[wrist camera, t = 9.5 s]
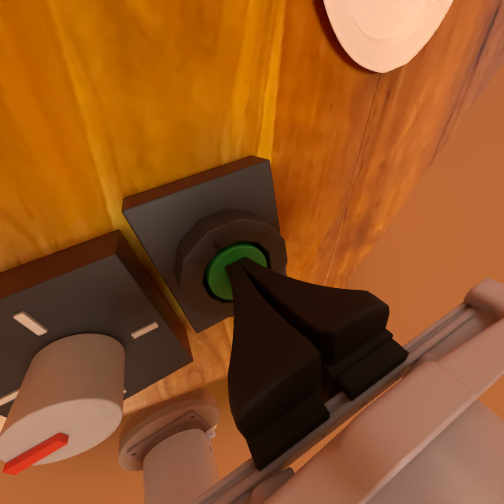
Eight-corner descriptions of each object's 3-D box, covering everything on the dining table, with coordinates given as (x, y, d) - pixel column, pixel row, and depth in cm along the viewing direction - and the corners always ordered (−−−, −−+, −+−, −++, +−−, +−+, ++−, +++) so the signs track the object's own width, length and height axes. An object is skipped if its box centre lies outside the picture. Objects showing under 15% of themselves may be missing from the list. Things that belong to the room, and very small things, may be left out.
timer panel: (185, 330, 18) (194, 363, 15) (68, 391, 16) (56, 440, 13) (119, 229, 12) (115, 255, 10) (-82, 302, 10) (-154, 361, 7)
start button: (258, 268, 15) (271, 283, 14) (211, 291, 14) (220, 309, 13) (248, 225, 13) (261, 236, 12) (192, 248, 12) (199, 264, 11)
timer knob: (97, 320, 11) (83, 393, 8) (138, 359, 13) (139, 426, 10) (6, 363, 10) (-49, 464, 7) (68, 396, 12) (47, 483, 9)
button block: (274, 271, 19) (301, 299, 16) (190, 313, 17) (203, 355, 14) (252, 155, 13) (288, 163, 10) (122, 198, 11) (118, 225, 8)
